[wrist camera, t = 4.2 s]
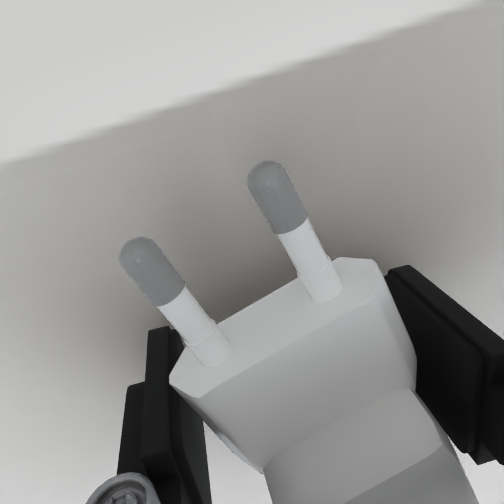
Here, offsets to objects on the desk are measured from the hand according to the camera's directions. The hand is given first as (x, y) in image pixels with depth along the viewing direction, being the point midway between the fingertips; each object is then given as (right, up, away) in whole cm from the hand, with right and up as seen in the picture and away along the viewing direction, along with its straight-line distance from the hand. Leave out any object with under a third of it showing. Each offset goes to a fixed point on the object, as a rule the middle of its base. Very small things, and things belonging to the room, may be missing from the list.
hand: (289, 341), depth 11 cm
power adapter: (0, +1, +1) cm, 1 cm away
